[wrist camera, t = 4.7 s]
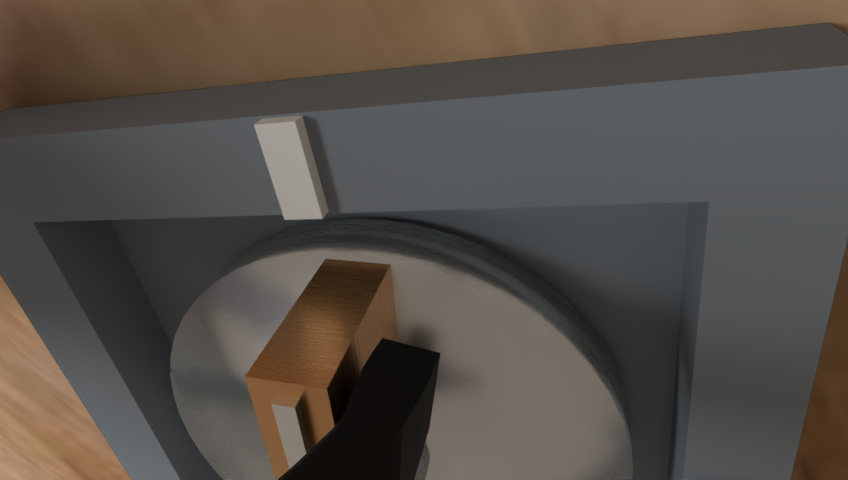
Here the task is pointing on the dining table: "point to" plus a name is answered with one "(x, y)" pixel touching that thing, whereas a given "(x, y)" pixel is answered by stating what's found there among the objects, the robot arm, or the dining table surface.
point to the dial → (406, 323)
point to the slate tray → (469, 220)
